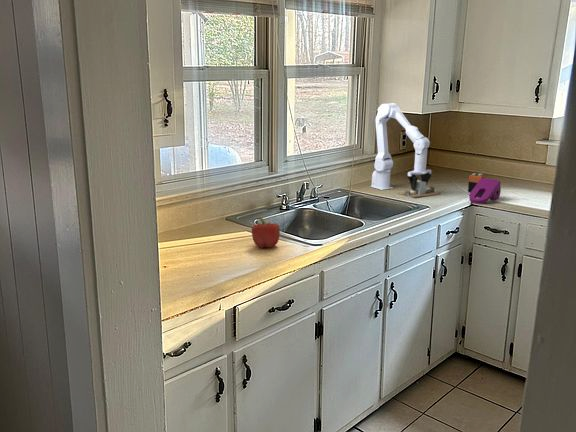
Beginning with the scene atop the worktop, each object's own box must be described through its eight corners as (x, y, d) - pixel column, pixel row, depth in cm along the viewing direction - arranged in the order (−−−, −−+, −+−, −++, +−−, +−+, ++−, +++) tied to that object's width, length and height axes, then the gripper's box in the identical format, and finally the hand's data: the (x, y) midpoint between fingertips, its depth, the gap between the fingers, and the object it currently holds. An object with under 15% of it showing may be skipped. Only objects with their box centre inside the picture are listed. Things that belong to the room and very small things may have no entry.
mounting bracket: (486, 216, 280) (501, 194, 290) (484, 202, 276) (500, 180, 285) (467, 212, 286) (483, 191, 296) (465, 198, 282) (481, 177, 291)
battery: (480, 194, 298) (482, 175, 295) (467, 192, 302) (469, 173, 300) (483, 192, 301) (485, 173, 299) (471, 190, 305) (472, 172, 303)
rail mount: (398, 193, 296) (399, 188, 296) (424, 190, 306) (424, 184, 305) (414, 198, 287) (414, 192, 287) (440, 194, 297) (440, 188, 296)
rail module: (411, 192, 297) (412, 180, 296) (416, 191, 299) (417, 179, 298) (419, 194, 292) (420, 182, 291) (425, 193, 295) (426, 182, 293)
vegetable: (245, 244, 214) (245, 218, 212) (269, 239, 220) (269, 214, 217) (261, 252, 206) (261, 225, 203) (285, 247, 211) (285, 221, 209)
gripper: (415, 164, 285) (413, 192, 288) (436, 162, 292) (434, 188, 296) (405, 162, 290) (403, 189, 294) (426, 160, 298) (424, 186, 302)
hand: (418, 188), depth 295 cm, fingers open, 7 cm apart
